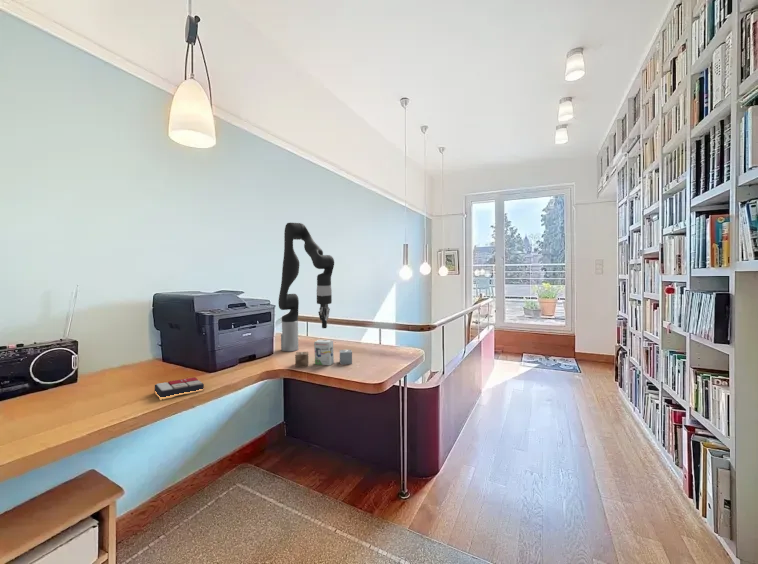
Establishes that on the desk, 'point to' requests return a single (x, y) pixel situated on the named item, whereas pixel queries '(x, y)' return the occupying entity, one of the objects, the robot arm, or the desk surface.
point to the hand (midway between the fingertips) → (324, 328)
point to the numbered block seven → (345, 357)
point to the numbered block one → (301, 359)
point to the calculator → (178, 386)
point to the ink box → (324, 352)
